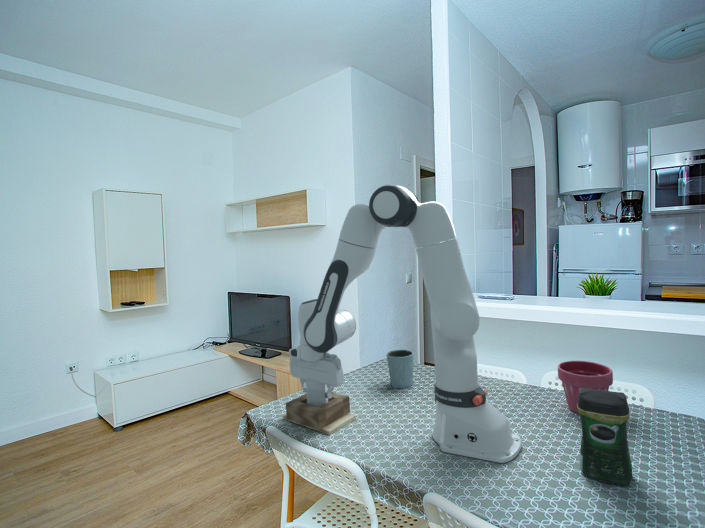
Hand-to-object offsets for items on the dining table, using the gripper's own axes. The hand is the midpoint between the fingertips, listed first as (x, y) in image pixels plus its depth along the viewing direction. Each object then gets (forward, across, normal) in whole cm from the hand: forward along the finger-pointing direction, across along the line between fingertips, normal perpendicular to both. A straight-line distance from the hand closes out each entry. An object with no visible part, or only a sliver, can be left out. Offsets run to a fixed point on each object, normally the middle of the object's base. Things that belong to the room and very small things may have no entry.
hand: (317, 394), depth 119 cm
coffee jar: (+8, -74, -13) cm, 76 cm away
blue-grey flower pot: (+8, -7, -38) cm, 39 cm away
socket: (+8, 0, 0) cm, 8 cm away
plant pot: (+8, -66, -47) cm, 81 cm away
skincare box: (+7, 0, 0) cm, 7 cm away
